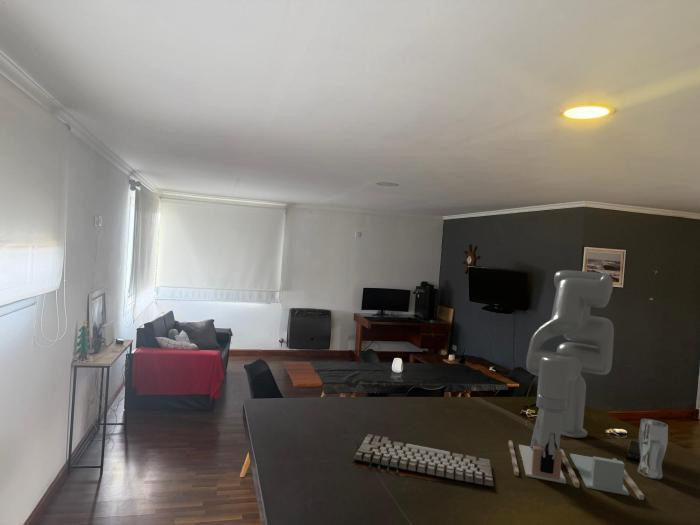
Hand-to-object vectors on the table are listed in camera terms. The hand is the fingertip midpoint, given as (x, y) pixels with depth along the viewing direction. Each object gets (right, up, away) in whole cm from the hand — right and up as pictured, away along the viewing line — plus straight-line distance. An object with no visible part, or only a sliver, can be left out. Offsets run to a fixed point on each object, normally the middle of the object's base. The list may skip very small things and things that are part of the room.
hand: (545, 469), depth 126 cm
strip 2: (+17, -4, +5) cm, 18 cm away
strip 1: (+2, -2, +9) cm, 10 cm away
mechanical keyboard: (-33, 0, +2) cm, 33 cm away
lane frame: (+9, -3, +7) cm, 12 cm away
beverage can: (+4, -1, +15) cm, 15 cm away
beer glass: (+33, -5, +8) cm, 35 cm away
